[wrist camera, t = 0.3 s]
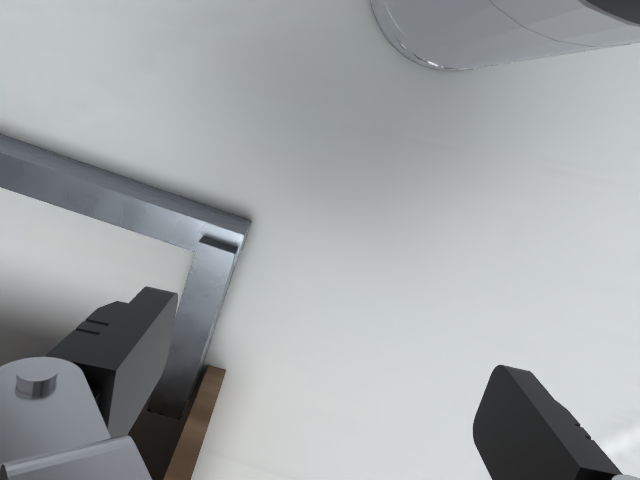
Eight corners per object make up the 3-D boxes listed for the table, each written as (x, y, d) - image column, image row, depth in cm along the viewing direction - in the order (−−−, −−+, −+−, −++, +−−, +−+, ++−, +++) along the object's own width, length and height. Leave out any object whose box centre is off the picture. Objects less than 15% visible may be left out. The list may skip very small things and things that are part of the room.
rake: (-141, 74, 26) (-272, 69, 20) (254, 211, 28) (238, 242, 22) (-155, 274, 29) (-270, 319, 23) (198, 381, 31) (172, 445, 26)
